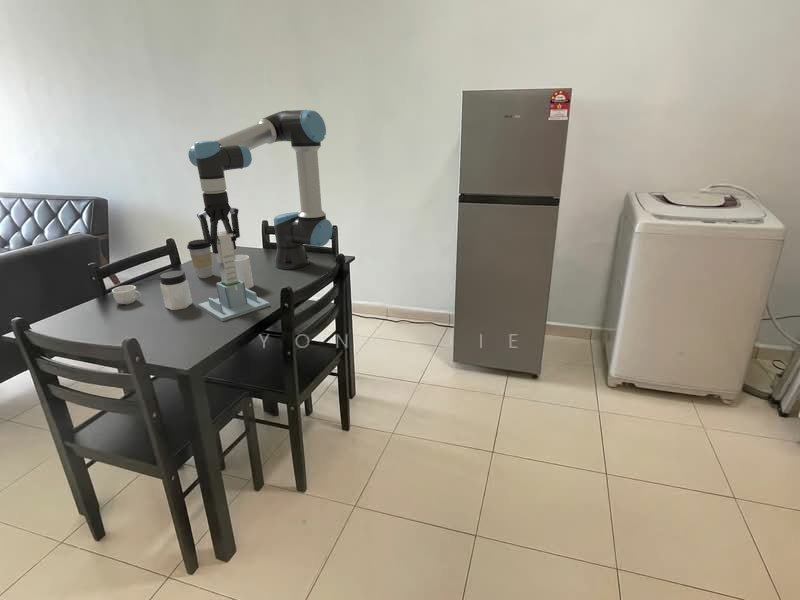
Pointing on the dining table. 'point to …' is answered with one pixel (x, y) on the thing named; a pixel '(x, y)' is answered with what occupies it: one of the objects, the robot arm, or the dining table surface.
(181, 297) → the jar
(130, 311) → the dining table surface
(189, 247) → the coffee cup
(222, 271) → the column
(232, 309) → the stand base
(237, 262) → the mug
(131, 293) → the teacup
